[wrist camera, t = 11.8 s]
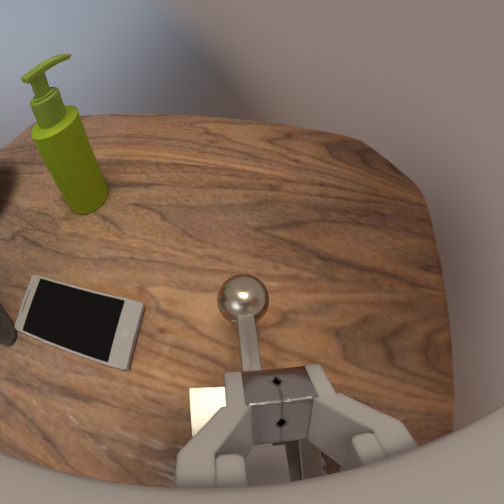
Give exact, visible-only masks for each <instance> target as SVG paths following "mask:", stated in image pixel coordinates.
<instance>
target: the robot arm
mask: <svg viewBox="0 0 504 504" xmlns="http://www.w3.org/2000/svg"><path fill="white" fill-rule="evenodd" d="M224 383H225V399H226V407H220V409H219V410H218V411H217V412H216V413H215V414H214V415H213V416H212V417H211V418H210V420H209V421H208V422H207V423H206V424H205V425H204V426H203V427H202V428H201V429H200V430H199V431H198V432H197V433H196V435H195V436H194V437H193V438H192V439H191V440H190V441H189V442H188V443H187V444H186V445H185V446H184V447H183V448H182V449H181V450H180V451H179V452H178V453H177V461H176V472H175V484H174V488H166V487H152V486H142V485H133V484H125V483H118V482H111V481H105V480H100V479H94V478H89V477H85V476H80V475H76V474H71V473H67V472H63V471H59V470H56V469H52V468H49V467H45V466H42V465H39V464H35V463H32V462H29V461H26V460H23V459H21V458H18V457H15V456H12V455H10V454H7V453H5V452H2V451H0V504H504V404H503V405H501V406H499V407H498V408H496V409H494V410H493V411H491V412H489V413H488V414H486V415H484V416H482V417H480V418H479V419H477V420H475V421H473V422H471V423H470V424H467V425H465V426H464V427H461V428H460V429H457V430H455V431H453V432H451V433H449V434H447V435H445V436H443V437H441V438H438V439H436V440H434V441H431V442H429V443H427V444H424V445H422V446H418V445H417V443H416V442H415V440H414V439H413V437H412V436H411V435H410V433H409V432H408V430H407V429H406V427H405V426H404V424H403V423H402V422H401V421H399V420H397V419H395V418H392V417H390V416H388V415H386V414H384V413H381V412H379V411H377V410H375V409H373V408H371V407H369V406H366V405H364V404H362V403H360V402H358V401H356V400H354V399H352V398H350V397H348V396H346V395H344V394H342V393H337V394H336V392H335V390H334V389H333V387H332V385H331V383H330V381H329V379H328V377H327V376H326V374H325V372H324V370H323V368H322V366H321V365H320V364H319V363H317V364H311V365H304V366H301V367H293V368H284V369H274V370H273V369H272V370H256V371H241V372H240V371H239V372H225V373H224ZM301 439H307V440H308V441H310V442H311V443H312V444H313V445H315V446H316V447H317V448H318V449H320V450H321V451H322V452H323V453H325V454H326V455H327V456H329V457H330V458H331V459H332V460H334V461H335V462H336V463H338V464H339V465H340V466H342V469H341V472H337V473H333V474H329V475H324V476H319V477H314V478H309V479H304V480H298V481H292V482H285V483H278V484H270V485H261V486H250V487H248V485H247V478H246V471H245V464H244V461H245V459H246V458H247V456H248V454H249V453H250V451H251V449H252V447H253V445H262V444H269V443H277V442H285V441H293V440H301Z"/></svg>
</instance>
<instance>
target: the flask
mask: <svg viewBox="0 0 504 504" xmlns="http://www.w3.org/2000/svg"><path fill="white" fill-rule="evenodd" d="M16 337H17V330H16V329H15V328H14V324H13V322H12V320H11V319H10V317H9V316H8V314H7V313H6V311H5V310H4V308H3V307H2V305H1V304H0V343H1V344H3V345H5V346H11V345H13V344H14V342H15V340H16Z"/></svg>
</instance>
